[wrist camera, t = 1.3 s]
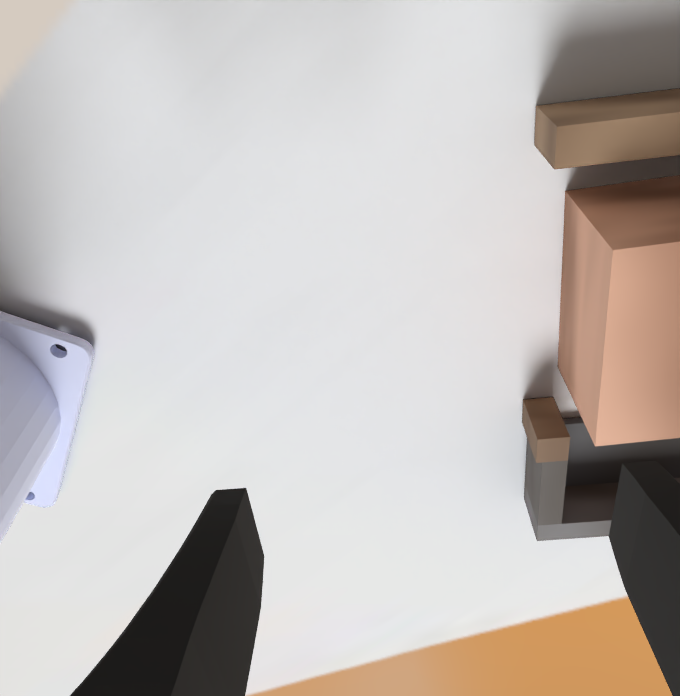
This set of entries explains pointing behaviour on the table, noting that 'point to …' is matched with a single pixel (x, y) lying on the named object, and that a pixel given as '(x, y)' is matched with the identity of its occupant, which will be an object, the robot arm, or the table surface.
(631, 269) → the block
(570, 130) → the trap box
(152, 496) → the table surface
